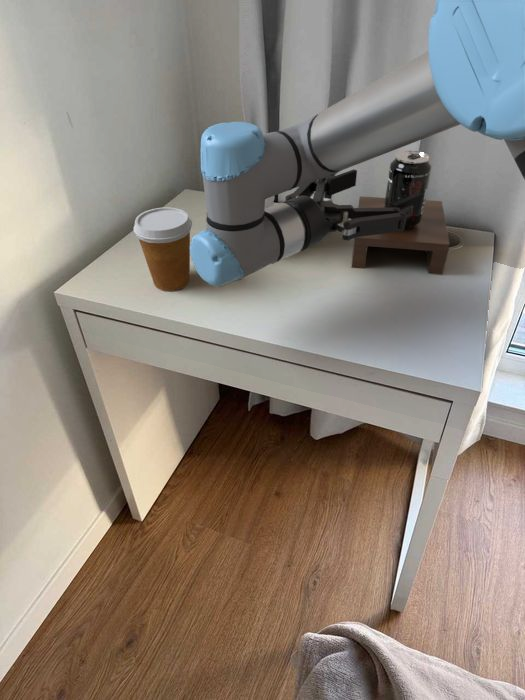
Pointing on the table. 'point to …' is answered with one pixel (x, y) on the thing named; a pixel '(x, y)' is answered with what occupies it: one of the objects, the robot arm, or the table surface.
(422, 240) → the shelf
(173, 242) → the disposable coffee cup
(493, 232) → the table surface
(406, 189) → the beverage can
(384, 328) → the table surface
